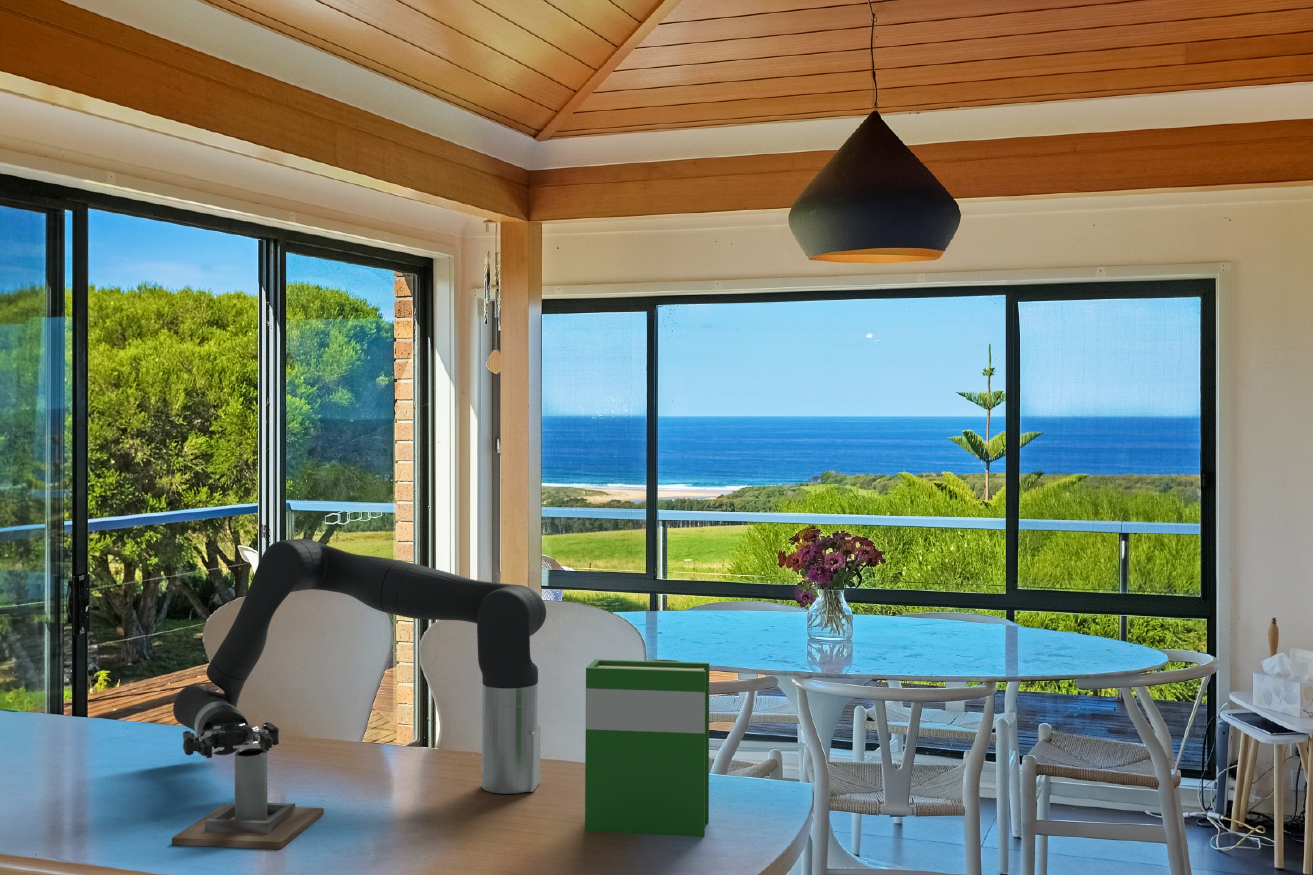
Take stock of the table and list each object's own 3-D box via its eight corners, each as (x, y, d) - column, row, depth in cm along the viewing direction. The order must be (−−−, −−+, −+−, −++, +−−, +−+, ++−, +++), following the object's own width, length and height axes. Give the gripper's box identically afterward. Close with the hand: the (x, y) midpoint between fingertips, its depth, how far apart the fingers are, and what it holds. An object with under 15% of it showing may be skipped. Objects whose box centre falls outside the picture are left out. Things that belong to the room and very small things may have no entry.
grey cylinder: (256, 827, 172) (256, 756, 172) (228, 825, 173) (228, 754, 173) (273, 817, 176) (273, 748, 176) (246, 815, 178) (246, 746, 178)
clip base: (323, 814, 182) (323, 798, 182) (280, 848, 166) (281, 831, 166) (223, 810, 183) (223, 794, 183) (171, 844, 167) (171, 827, 167)
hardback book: (708, 821, 180) (709, 662, 180) (704, 836, 172) (705, 671, 173) (594, 815, 182) (595, 659, 182) (584, 831, 174) (585, 667, 175)
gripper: (175, 709, 195) (190, 729, 181) (264, 700, 202) (285, 718, 188) (175, 754, 195) (190, 778, 181) (264, 744, 202) (285, 766, 188)
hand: (238, 747), depth 184 cm, fingers open, 8 cm apart
